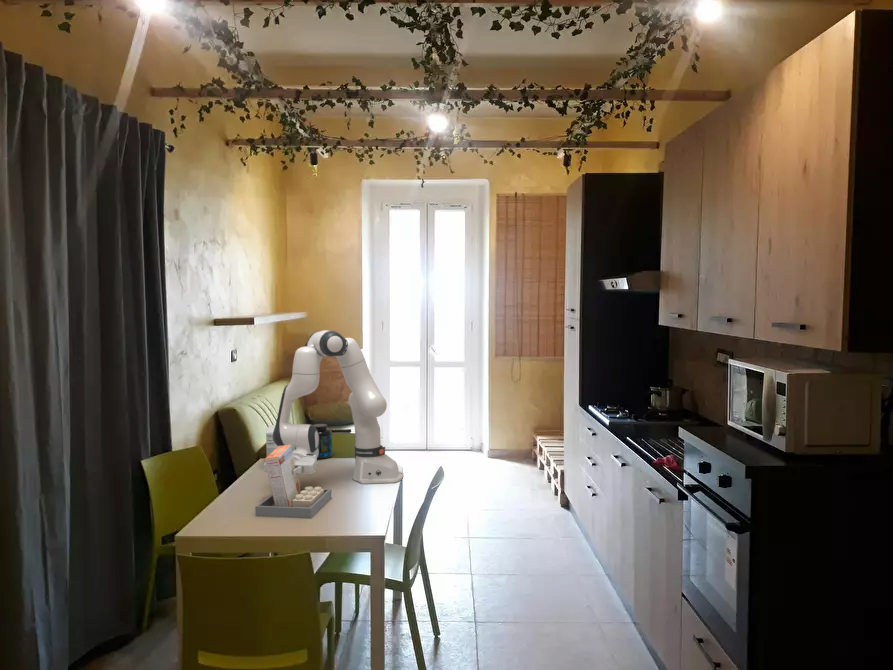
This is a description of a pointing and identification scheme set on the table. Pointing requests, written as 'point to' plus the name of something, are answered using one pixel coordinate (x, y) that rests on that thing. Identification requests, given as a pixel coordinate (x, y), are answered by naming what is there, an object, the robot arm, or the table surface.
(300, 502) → the egg carton
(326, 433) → the container
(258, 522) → the table surface
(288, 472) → the cracker box
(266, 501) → the tote
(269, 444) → the supplement box
